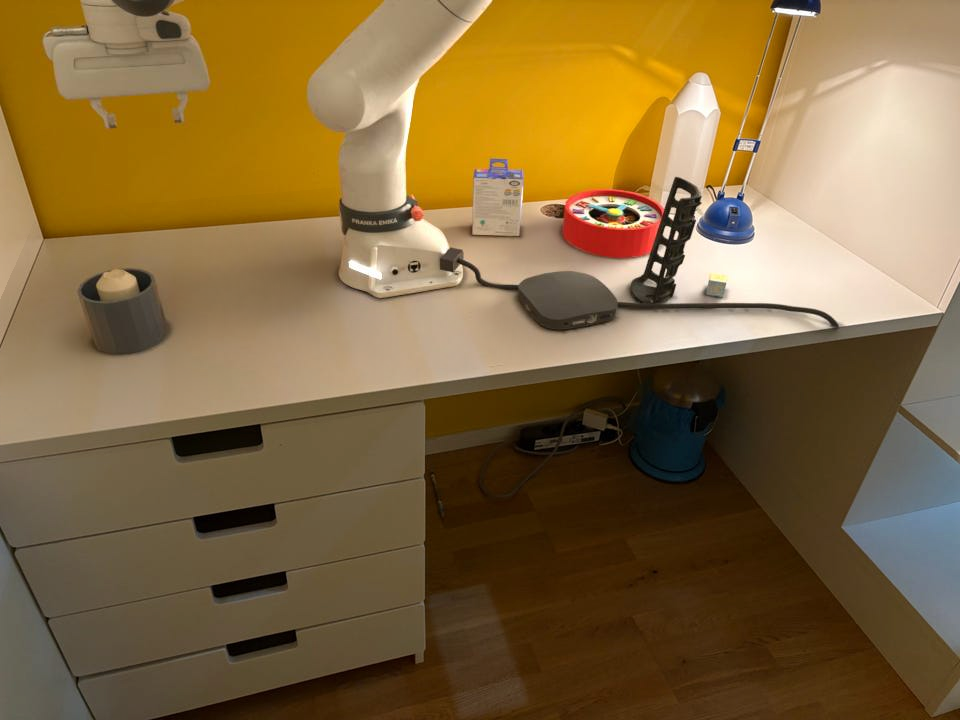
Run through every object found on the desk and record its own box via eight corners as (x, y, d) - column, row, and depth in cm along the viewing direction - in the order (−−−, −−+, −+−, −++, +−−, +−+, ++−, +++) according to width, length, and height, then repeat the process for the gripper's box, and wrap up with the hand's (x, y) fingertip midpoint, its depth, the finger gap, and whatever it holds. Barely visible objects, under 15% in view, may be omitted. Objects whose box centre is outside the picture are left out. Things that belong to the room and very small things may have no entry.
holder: (622, 277, 133) (651, 173, 122) (661, 280, 134) (693, 177, 123) (637, 308, 124) (670, 200, 113) (679, 311, 126) (716, 204, 114)
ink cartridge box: (519, 225, 151) (524, 157, 143) (520, 237, 147) (525, 167, 138) (472, 224, 151) (474, 155, 143) (471, 235, 147) (473, 165, 138)
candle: (135, 342, 111) (118, 284, 105) (103, 336, 112) (85, 279, 106) (156, 323, 115) (141, 267, 110) (125, 318, 116) (109, 262, 110)
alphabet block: (705, 294, 130) (708, 279, 128) (707, 286, 132) (710, 271, 130) (723, 298, 129) (726, 282, 127) (724, 290, 131) (728, 275, 129)
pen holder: (172, 315, 119) (160, 266, 114) (161, 351, 110) (147, 300, 105) (103, 319, 117) (87, 270, 112) (86, 357, 109) (68, 305, 104)
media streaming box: (583, 279, 133) (585, 265, 131) (624, 320, 122) (627, 304, 120) (510, 292, 128) (511, 277, 126) (545, 335, 117) (547, 319, 115)
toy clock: (638, 239, 134) (546, 211, 143) (634, 267, 137) (543, 238, 146) (682, 205, 147) (594, 181, 157) (676, 232, 151) (591, 207, 160)
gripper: (35, 32, 95) (67, 137, 103) (200, 25, 101) (218, 125, 109) (40, 23, 99) (70, 124, 107) (197, 16, 106) (215, 113, 114)
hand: (146, 124), depth 108 cm, fingers open, 8 cm apart
